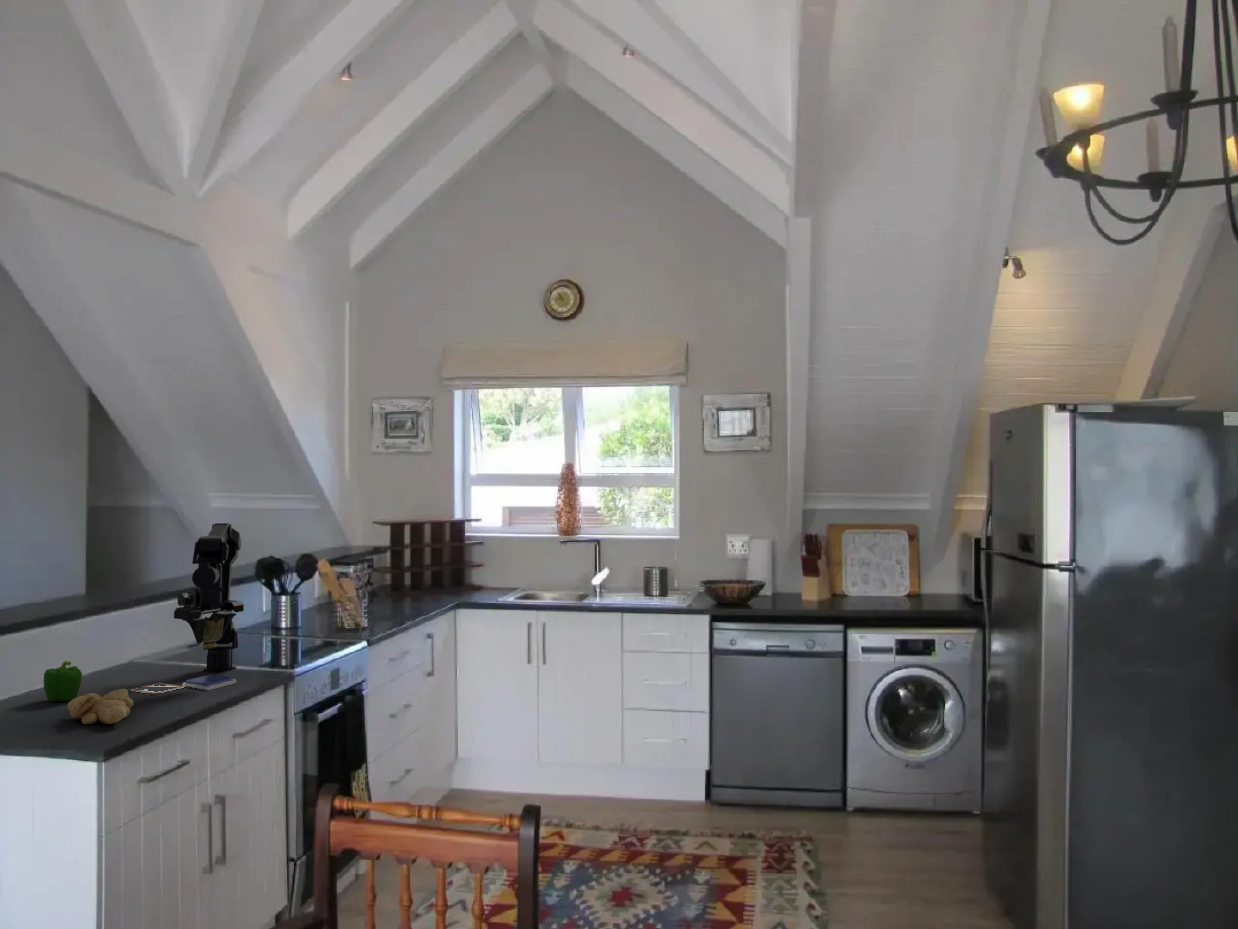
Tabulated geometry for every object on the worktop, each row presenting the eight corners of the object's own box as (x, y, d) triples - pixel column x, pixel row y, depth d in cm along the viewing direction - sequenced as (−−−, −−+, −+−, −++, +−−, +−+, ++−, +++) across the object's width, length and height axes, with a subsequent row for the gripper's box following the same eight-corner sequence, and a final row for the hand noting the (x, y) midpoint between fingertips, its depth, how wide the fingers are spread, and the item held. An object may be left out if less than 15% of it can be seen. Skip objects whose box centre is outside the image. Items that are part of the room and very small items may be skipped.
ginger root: (78, 705, 228) (86, 673, 228) (144, 721, 230) (152, 689, 229) (42, 726, 213) (51, 691, 213) (114, 743, 214) (122, 708, 214)
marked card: (159, 683, 257) (159, 682, 257) (186, 687, 253) (186, 686, 253) (127, 691, 249) (127, 689, 249) (155, 695, 245) (155, 694, 245)
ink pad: (211, 679, 263) (211, 673, 263) (236, 683, 260) (236, 677, 260) (182, 686, 255) (182, 680, 255) (207, 690, 251) (207, 684, 251)
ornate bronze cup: (215, 644, 262) (216, 615, 262) (229, 647, 258) (229, 618, 258) (188, 647, 257) (189, 618, 257) (202, 651, 252) (202, 621, 252)
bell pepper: (40, 699, 239) (41, 659, 239) (77, 694, 244) (78, 655, 244) (46, 706, 232) (47, 665, 232) (84, 701, 238) (85, 661, 238)
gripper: (216, 578, 269) (215, 634, 269) (159, 585, 252) (158, 644, 252) (245, 581, 264) (244, 637, 264) (189, 588, 247) (188, 648, 247)
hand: (209, 641), depth 257 cm, fingers closed on ornate bronze cup, 6 cm apart
